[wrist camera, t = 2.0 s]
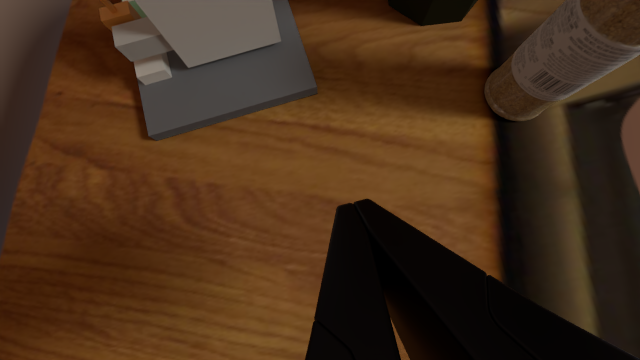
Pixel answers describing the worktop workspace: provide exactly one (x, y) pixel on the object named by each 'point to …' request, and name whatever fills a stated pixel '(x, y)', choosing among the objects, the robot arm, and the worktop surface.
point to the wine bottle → (433, 10)
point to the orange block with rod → (117, 13)
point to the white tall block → (198, 29)
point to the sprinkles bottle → (565, 56)
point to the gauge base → (223, 82)
